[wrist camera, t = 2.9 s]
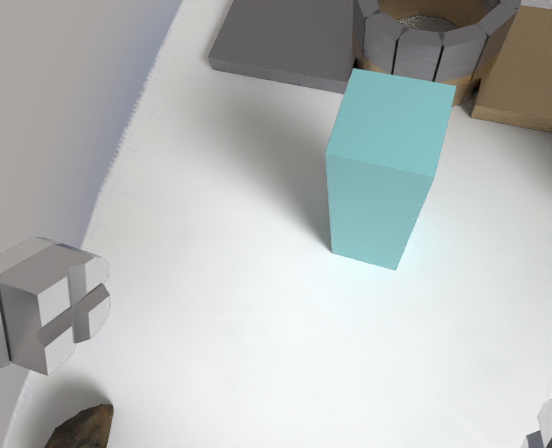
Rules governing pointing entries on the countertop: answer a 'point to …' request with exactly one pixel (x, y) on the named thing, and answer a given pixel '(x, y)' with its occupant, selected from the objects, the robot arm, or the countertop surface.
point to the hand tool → (84, 429)
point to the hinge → (400, 49)
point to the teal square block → (383, 162)
